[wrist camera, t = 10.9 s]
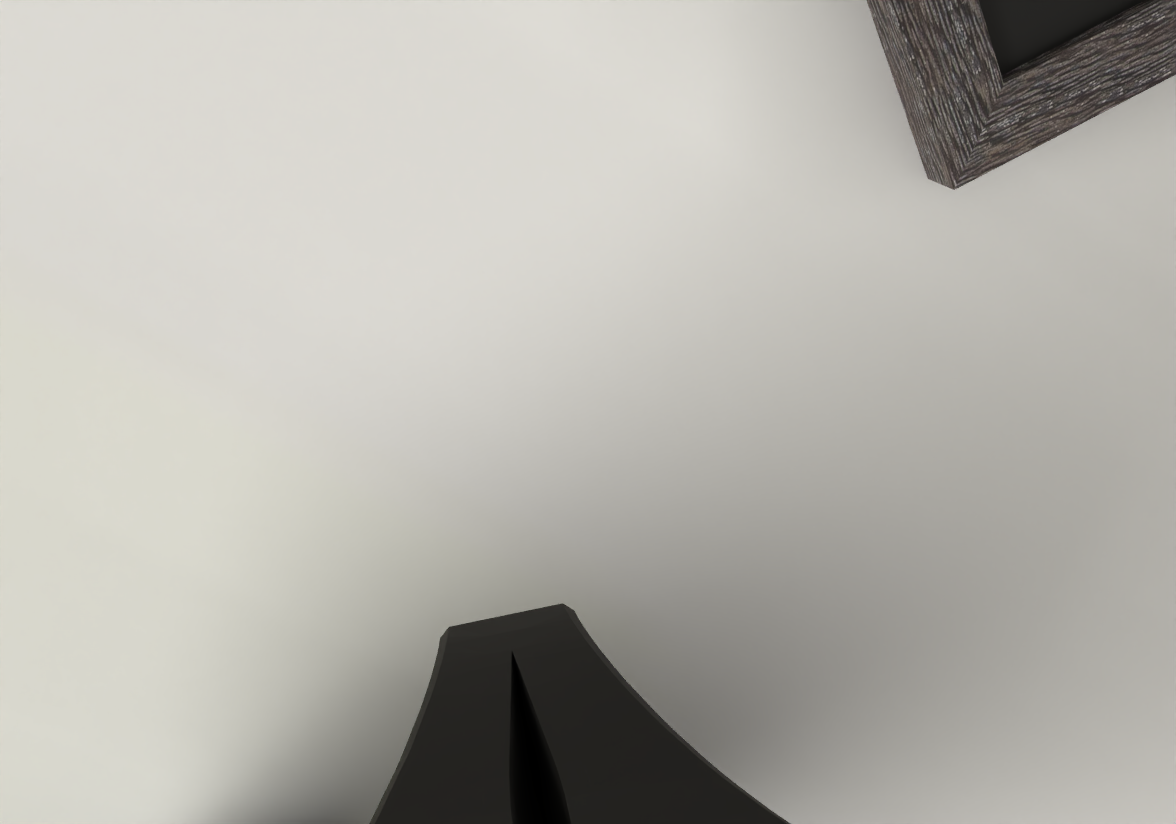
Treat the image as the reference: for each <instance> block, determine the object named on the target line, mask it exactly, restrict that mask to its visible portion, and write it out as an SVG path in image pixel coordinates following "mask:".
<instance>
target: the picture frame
mask: <svg viewBox="0 0 1176 824" xmlns="http://www.w3.org/2000/svg"><path fill="white" fill-rule="evenodd" d="M867 3H868V5H869V8H870V11H871V14H872V17H873V20H874V23H875V26H876V29H877V32H878V34H879V37H880V40H881V43H882V46H883V49H884V52H885V55H886V58H887V61H888V64H889V66H890V69H891V72H892V75H893V78H894V81H895V84H896V87H897V90H898V93H899V96H900V98H901V101H902V104H903V107H904V110H905V113H906V116H907V119H908V122H909V125H910V128H911V130H912V133H913V136H914V139H915V142H916V145H917V148H918V151H919V154H920V157H921V160H922V162H923V165H924V168H925V171H926V174H927V177H928V179H930V180H933V181H935V182H937V183H940V184H942V185H944V186H947V187H949V188H951V189H954V190H955V189H957V188H959V187H961V186H963V185H964V184H966V183H968V182H970V181H972V180H974V179H976V178H978V177H980V176H982V175H984V174H986V173H987V172H989V171H991V170H993V169H995V168H997V167H999V166H1001V165H1003V164H1005V163H1007V162H1009V161H1011V160H1012V159H1014V158H1016V157H1018V156H1020V155H1022V154H1024V153H1026V152H1028V151H1030V150H1032V149H1034V148H1035V147H1037V146H1039V145H1041V144H1043V143H1045V142H1047V141H1049V140H1051V139H1053V138H1055V137H1057V136H1058V135H1060V134H1062V133H1064V132H1066V131H1068V130H1070V129H1072V128H1074V127H1076V126H1078V125H1080V124H1082V123H1083V122H1085V121H1087V120H1089V119H1091V118H1093V117H1095V116H1097V115H1099V114H1101V113H1103V112H1105V111H1106V110H1108V109H1110V108H1112V107H1114V106H1116V105H1118V104H1120V103H1122V102H1124V101H1126V100H1128V99H1129V98H1131V97H1133V96H1135V95H1137V94H1139V93H1141V92H1143V91H1145V90H1147V89H1149V88H1151V87H1153V86H1154V85H1156V84H1158V83H1160V82H1162V81H1164V80H1166V79H1168V78H1170V77H1172V76H1174V75H1176V0H867Z"/></svg>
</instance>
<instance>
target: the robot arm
mask: <svg viewBox="0 0 1176 824" xmlns="http://www.w3.org/2000/svg"><path fill="white" fill-rule="evenodd" d="M370 824H790V823H789V822H787V821H786V820H784V819H783V818H781V817H780V816H778V815H777V814H775V813H774V812H772V811H771V810H770V809H768V808H767V807H765V806H764V805H763V804H762V803H760V802H759V801H758V800H756V799H755V798H754V797H752V796H751V795H750V794H748V793H747V792H746V791H744V790H743V789H742V788H740V787H739V786H738V785H736V784H735V783H734V782H733V781H731V780H730V779H729V778H728V777H726V776H725V775H724V774H723V773H721V772H720V771H719V770H718V769H717V768H715V767H714V766H713V765H712V764H711V763H710V762H708V761H707V760H706V759H705V758H704V757H703V756H701V755H700V754H699V753H698V752H697V751H696V750H695V749H694V748H693V747H692V746H690V745H689V744H688V743H687V742H686V741H685V740H684V739H683V738H682V737H681V736H679V735H678V734H677V733H676V732H675V731H674V730H673V729H672V728H671V727H670V726H669V725H668V724H667V723H666V722H665V721H664V720H663V719H662V718H661V717H660V716H659V715H658V714H657V713H656V712H655V711H654V710H653V709H652V708H651V707H650V706H649V705H648V704H647V703H646V702H645V701H644V699H643V698H642V697H641V696H640V695H639V694H638V693H637V692H636V691H635V690H634V689H633V688H632V687H631V686H630V685H629V684H628V683H627V681H626V680H625V679H624V678H623V677H622V676H621V675H620V673H619V672H618V671H617V670H616V669H615V668H614V666H613V665H612V664H611V663H610V661H609V660H608V659H607V658H606V656H605V655H604V654H603V653H602V652H601V650H600V649H599V648H598V646H597V645H596V644H595V642H594V641H593V640H592V638H591V637H590V635H589V634H588V633H587V631H586V630H585V628H584V627H583V625H582V624H581V622H580V620H579V619H578V617H577V615H576V613H575V611H574V610H572V609H571V608H569V607H568V606H566V605H564V604H558V605H553V606H548V607H543V608H538V609H534V610H529V611H524V612H519V613H514V614H509V615H505V616H500V617H495V618H490V619H485V620H480V621H476V622H471V623H466V624H461V625H456V626H452V627H449V628H448V629H447V630H446V632H445V633H444V634H443V635H442V637H441V638H440V643H439V649H438V654H437V658H436V662H435V666H434V669H433V673H432V676H431V679H430V682H429V686H428V689H427V692H426V694H425V697H424V700H423V703H422V706H421V709H420V712H419V714H418V717H417V719H416V722H415V724H414V727H413V729H412V732H411V734H410V737H409V739H408V742H407V744H406V747H405V749H404V752H403V754H402V757H401V759H400V762H399V764H398V766H397V768H396V771H395V773H394V775H393V777H392V779H391V781H390V783H389V785H388V787H387V789H386V791H385V793H384V795H383V797H382V799H381V802H380V804H379V806H378V808H377V810H376V812H375V814H374V816H373V818H372V820H371V822H370Z"/></svg>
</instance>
